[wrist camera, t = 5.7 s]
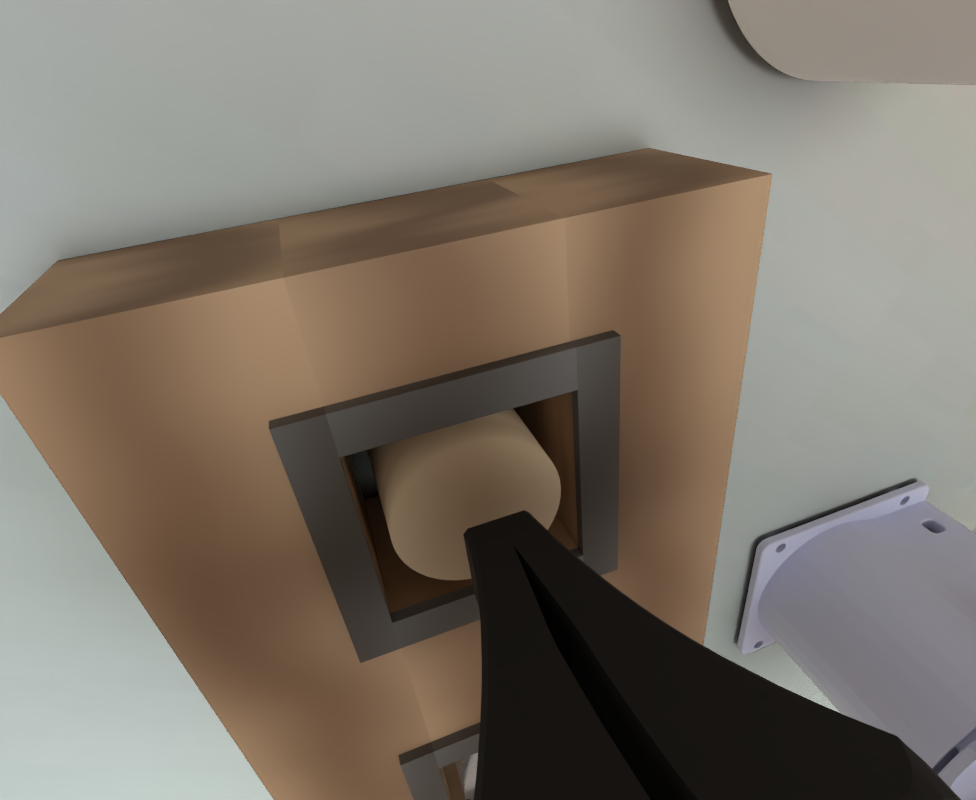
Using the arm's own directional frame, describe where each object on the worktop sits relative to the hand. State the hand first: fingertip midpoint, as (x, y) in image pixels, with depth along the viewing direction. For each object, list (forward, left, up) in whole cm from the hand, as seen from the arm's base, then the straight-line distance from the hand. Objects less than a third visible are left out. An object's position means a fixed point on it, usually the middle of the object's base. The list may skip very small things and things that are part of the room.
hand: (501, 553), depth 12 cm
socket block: (0, +6, -6) cm, 8 cm away
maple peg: (0, 0, -6) cm, 6 cm away
